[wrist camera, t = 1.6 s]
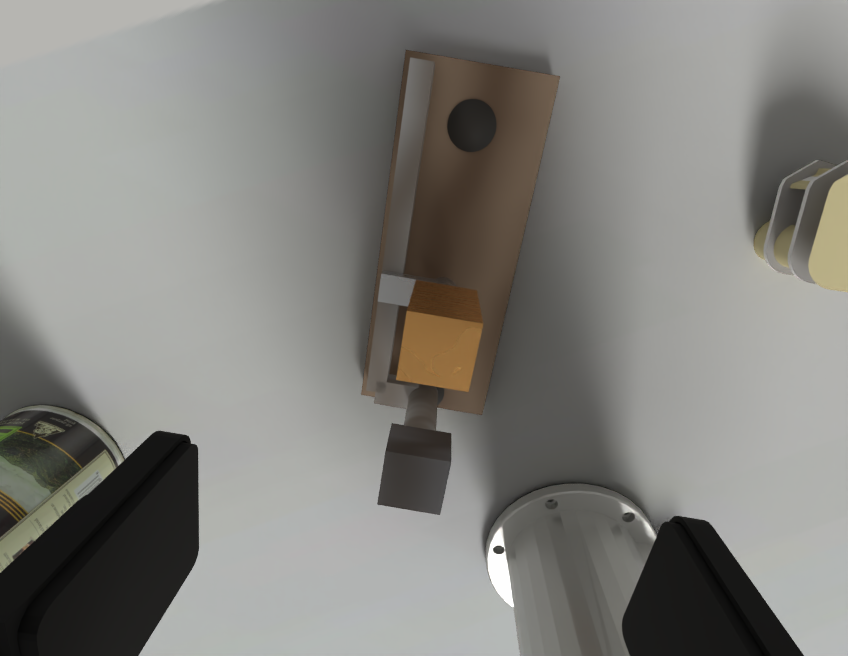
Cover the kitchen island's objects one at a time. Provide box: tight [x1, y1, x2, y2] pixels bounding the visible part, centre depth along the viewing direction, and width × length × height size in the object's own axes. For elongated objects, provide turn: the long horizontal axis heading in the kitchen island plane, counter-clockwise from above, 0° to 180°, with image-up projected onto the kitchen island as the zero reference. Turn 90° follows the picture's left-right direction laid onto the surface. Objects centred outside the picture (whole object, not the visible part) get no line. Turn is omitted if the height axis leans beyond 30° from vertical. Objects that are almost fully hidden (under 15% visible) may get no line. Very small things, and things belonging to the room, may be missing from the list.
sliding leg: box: [378, 270, 483, 392], centre depth 23 cm, size 5×3×10 cm, turn 81°
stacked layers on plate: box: [754, 160, 848, 292], centre depth 25 cm, size 10×9×6 cm
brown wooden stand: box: [361, 50, 560, 515], centre depth 24 cm, size 8×20×11 cm, turn 171°
